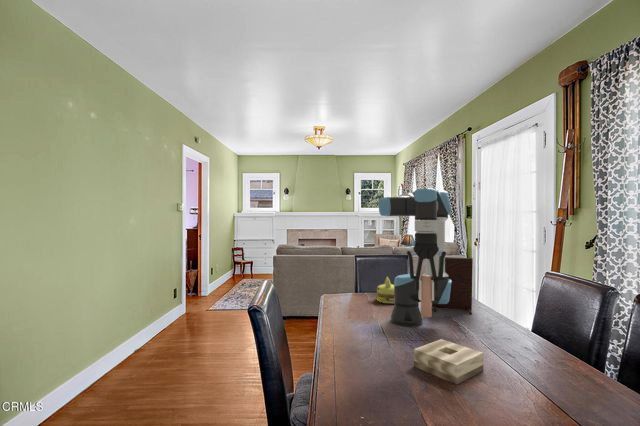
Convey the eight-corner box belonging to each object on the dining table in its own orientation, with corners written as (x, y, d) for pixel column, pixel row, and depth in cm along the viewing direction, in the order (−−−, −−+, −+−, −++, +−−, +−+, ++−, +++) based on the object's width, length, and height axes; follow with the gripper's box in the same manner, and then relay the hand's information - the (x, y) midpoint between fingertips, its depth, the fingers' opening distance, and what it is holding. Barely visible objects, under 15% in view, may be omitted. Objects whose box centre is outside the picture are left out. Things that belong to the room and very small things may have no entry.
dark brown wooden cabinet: (471, 310, 188) (470, 256, 189) (473, 315, 178) (472, 258, 179) (431, 307, 195) (431, 255, 196) (431, 311, 185) (431, 257, 186)
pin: (418, 315, 119) (418, 275, 119) (425, 314, 121) (425, 274, 121) (427, 318, 116) (426, 277, 116) (433, 316, 118) (433, 276, 118)
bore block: (414, 366, 117) (414, 349, 117) (441, 355, 126) (441, 339, 126) (456, 384, 104) (456, 365, 104) (483, 370, 113) (483, 352, 114)
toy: (375, 298, 216) (375, 275, 216) (399, 299, 214) (399, 275, 215) (376, 304, 201) (376, 279, 201) (403, 305, 199) (403, 279, 199)
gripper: (402, 232, 117) (402, 301, 116) (452, 233, 114) (453, 303, 113) (401, 232, 124) (401, 296, 123) (448, 232, 121) (448, 298, 120)
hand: (426, 299), depth 118 cm, fingers closed on pin, 3 cm apart
